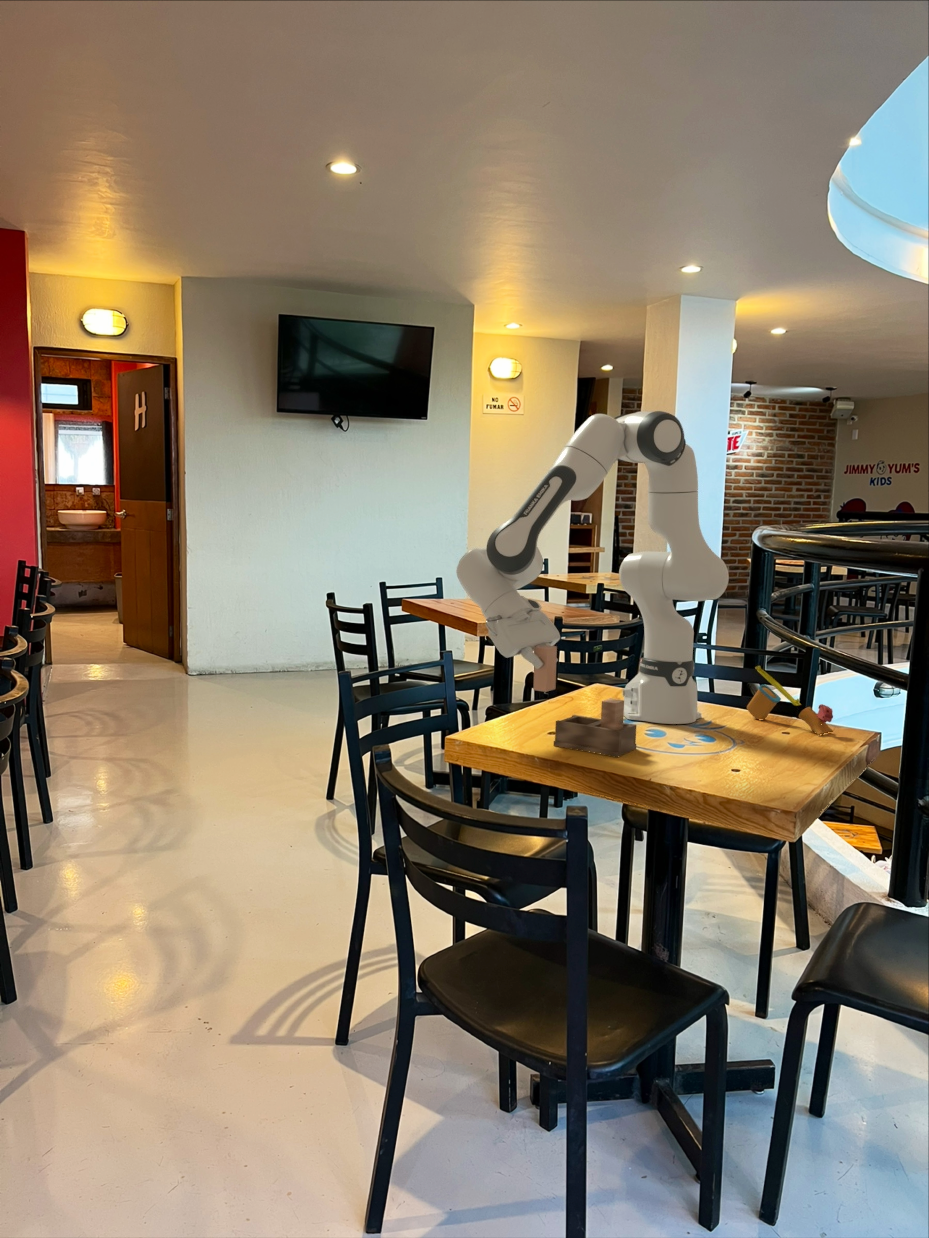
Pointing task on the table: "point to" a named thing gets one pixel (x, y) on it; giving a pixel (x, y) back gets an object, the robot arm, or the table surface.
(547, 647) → the pink rectangular block
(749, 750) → the table surface
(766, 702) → the toy
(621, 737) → the box
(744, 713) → the table surface
